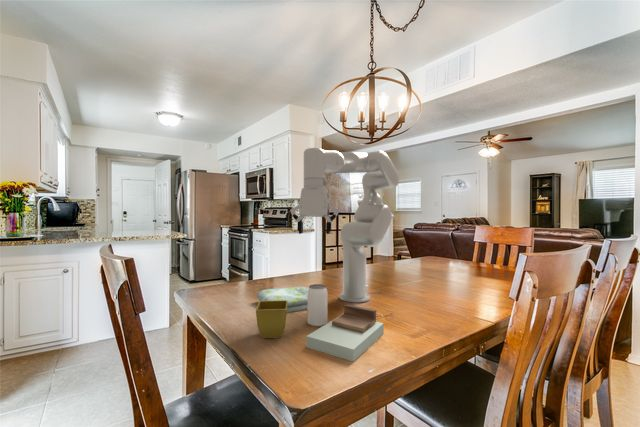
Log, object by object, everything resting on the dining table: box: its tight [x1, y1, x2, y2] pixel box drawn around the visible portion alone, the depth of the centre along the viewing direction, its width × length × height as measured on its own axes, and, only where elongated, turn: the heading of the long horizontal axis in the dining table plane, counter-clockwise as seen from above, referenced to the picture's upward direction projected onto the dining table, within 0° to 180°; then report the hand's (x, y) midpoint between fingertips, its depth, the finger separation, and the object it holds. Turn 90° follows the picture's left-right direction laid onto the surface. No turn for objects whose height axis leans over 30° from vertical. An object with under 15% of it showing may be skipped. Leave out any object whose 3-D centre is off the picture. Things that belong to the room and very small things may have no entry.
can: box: [307, 283, 328, 327], centre depth 98 cm, size 6×6×12 cm
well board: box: [306, 313, 385, 362], centre depth 85 cm, size 20×14×3 cm
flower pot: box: [255, 300, 288, 339], centre depth 88 cm, size 9×9×9 cm
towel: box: [256, 286, 309, 314], centre depth 118 cm, size 18×21×5 cm
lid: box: [331, 303, 377, 332], centre depth 89 cm, size 9×10×4 cm
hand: (314, 233), depth 105 cm, fingers open, 9 cm apart
